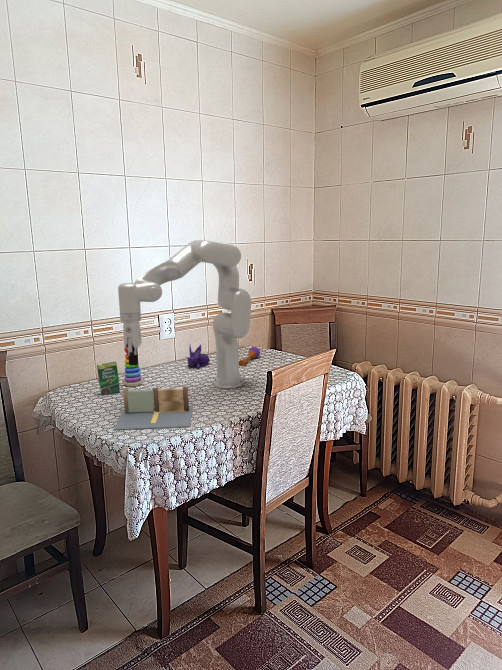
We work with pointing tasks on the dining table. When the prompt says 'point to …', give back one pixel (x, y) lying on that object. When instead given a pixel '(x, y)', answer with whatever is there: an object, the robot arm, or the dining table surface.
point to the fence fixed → (171, 399)
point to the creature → (197, 358)
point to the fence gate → (138, 400)
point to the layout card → (153, 420)
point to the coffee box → (108, 378)
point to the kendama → (250, 355)
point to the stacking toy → (131, 373)
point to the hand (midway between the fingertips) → (133, 364)
